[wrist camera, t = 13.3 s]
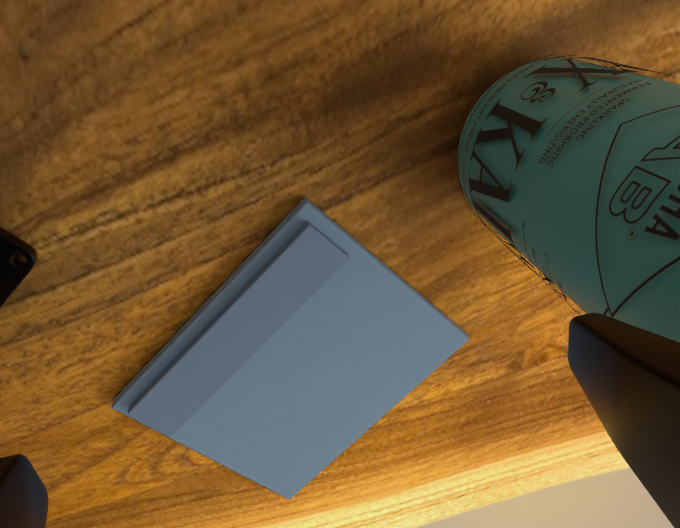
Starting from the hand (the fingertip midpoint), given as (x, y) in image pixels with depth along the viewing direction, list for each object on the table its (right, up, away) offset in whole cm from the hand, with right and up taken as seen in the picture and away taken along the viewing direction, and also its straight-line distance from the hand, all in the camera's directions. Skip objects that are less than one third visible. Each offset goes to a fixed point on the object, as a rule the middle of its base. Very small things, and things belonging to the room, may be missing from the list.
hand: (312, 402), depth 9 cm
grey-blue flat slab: (-2, -2, +16) cm, 16 cm away
